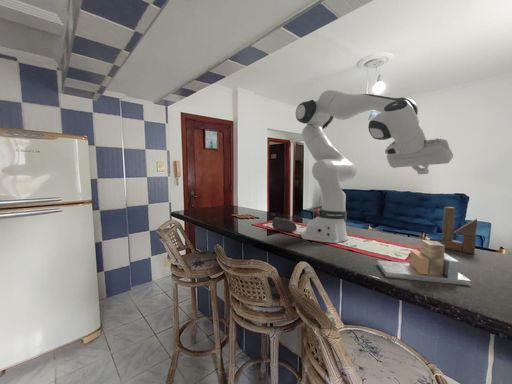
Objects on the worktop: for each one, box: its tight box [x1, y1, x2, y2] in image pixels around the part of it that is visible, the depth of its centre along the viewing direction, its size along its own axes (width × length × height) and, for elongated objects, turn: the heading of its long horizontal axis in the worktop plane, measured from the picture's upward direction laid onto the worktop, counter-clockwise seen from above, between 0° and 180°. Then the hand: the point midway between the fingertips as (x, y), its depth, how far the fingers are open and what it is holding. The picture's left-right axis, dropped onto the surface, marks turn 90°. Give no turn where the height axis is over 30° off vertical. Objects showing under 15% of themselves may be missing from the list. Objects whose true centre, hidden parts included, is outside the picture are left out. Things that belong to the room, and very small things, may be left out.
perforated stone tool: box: [271, 216, 298, 233], centre depth 128 cm, size 15×5×7 cm, turn 50°
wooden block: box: [440, 206, 478, 255], centre depth 96 cm, size 4×11×18 cm, turn 44°
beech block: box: [420, 239, 446, 275], centre depth 72 cm, size 4×5×9 cm
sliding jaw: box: [409, 249, 431, 274], centre depth 73 cm, size 3×8×5 cm, turn 165°
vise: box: [377, 252, 472, 286], centre depth 73 cm, size 22×10×6 cm, turn 76°
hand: (423, 173), depth 87 cm, fingers closed
